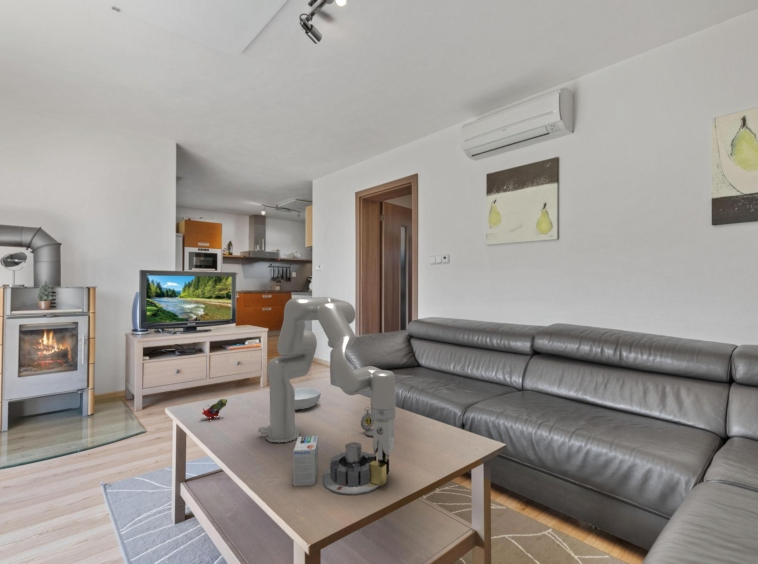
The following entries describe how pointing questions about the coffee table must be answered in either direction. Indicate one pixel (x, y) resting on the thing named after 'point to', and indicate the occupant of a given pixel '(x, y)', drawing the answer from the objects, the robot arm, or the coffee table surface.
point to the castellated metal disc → (358, 471)
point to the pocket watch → (365, 419)
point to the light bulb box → (305, 461)
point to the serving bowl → (306, 397)
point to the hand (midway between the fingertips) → (383, 472)
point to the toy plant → (215, 408)
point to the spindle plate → (347, 488)
